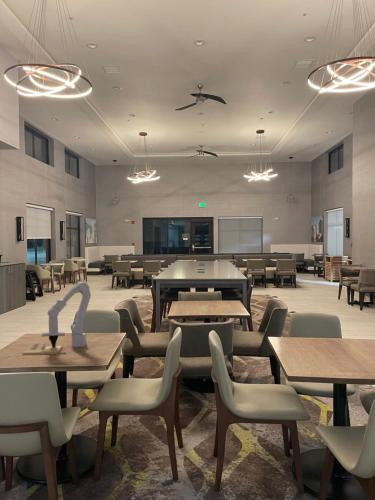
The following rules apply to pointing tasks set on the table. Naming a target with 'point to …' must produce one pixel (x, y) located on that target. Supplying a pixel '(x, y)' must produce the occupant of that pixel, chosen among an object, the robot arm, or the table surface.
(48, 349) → the plank
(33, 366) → the table surface
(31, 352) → the floor base
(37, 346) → the plank
